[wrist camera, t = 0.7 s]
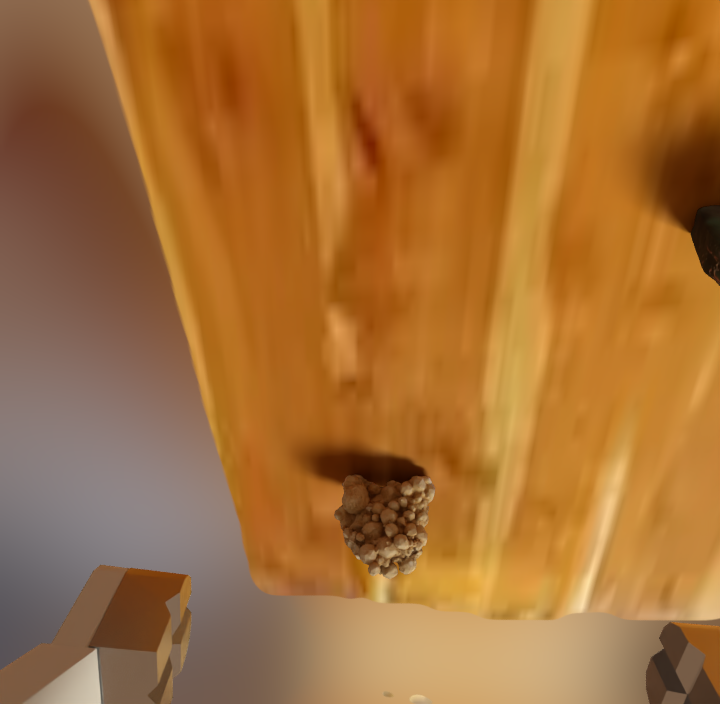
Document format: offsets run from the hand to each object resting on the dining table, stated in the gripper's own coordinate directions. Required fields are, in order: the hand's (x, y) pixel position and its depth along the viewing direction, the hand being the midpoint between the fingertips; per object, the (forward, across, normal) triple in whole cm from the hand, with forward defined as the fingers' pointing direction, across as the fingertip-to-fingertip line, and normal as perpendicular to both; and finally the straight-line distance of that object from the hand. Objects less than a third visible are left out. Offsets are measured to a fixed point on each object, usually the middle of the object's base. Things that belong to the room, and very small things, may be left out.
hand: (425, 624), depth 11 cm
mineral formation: (+64, -6, +41) cm, 76 cm away
